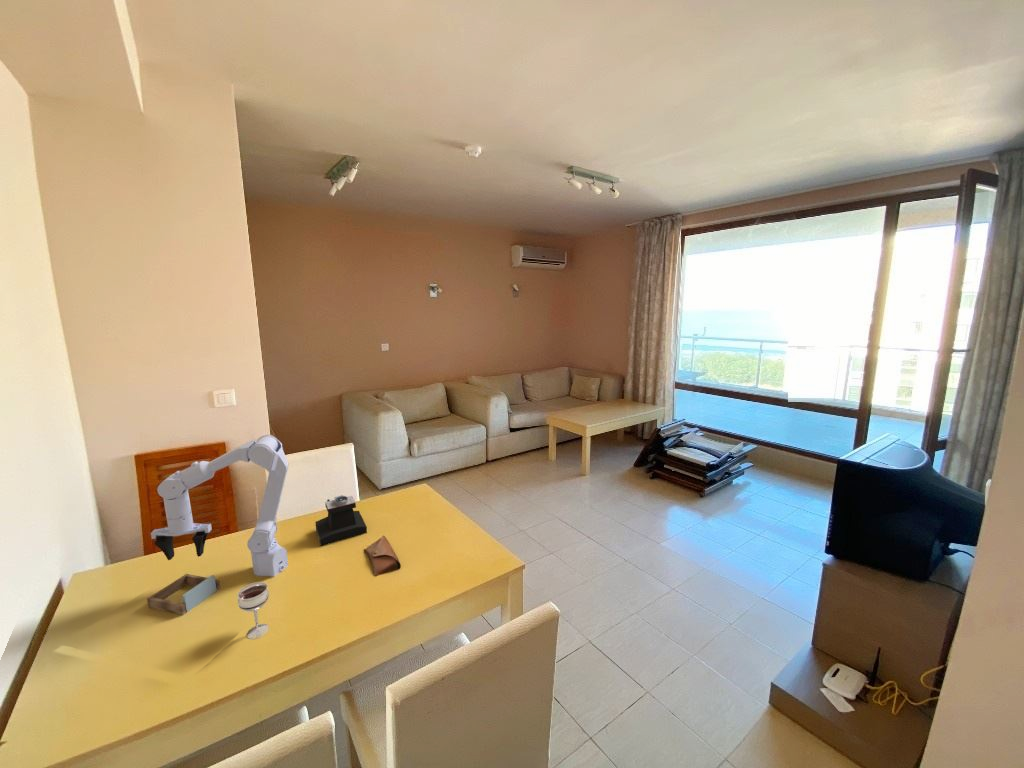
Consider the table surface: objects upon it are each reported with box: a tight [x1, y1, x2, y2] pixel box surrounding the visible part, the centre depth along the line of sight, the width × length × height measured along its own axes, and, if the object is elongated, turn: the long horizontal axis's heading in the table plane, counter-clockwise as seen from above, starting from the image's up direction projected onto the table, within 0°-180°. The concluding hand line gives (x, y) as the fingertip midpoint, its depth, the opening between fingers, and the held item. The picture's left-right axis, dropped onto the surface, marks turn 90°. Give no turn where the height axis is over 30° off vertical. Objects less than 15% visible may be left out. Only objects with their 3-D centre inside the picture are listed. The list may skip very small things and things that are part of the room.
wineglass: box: [236, 581, 270, 640], centre depth 105 cm, size 7×7×12 cm
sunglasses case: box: [363, 535, 402, 577], centre depth 137 cm, size 18×7×7 cm, turn 32°
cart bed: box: [146, 573, 221, 616], centre depth 117 cm, size 12×11×4 cm
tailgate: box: [181, 574, 218, 613], centre depth 115 cm, size 1×9×5 cm, turn 167°
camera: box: [314, 495, 368, 547], centre depth 153 cm, size 16×14×15 cm
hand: (185, 556), depth 122 cm, fingers open, 7 cm apart
